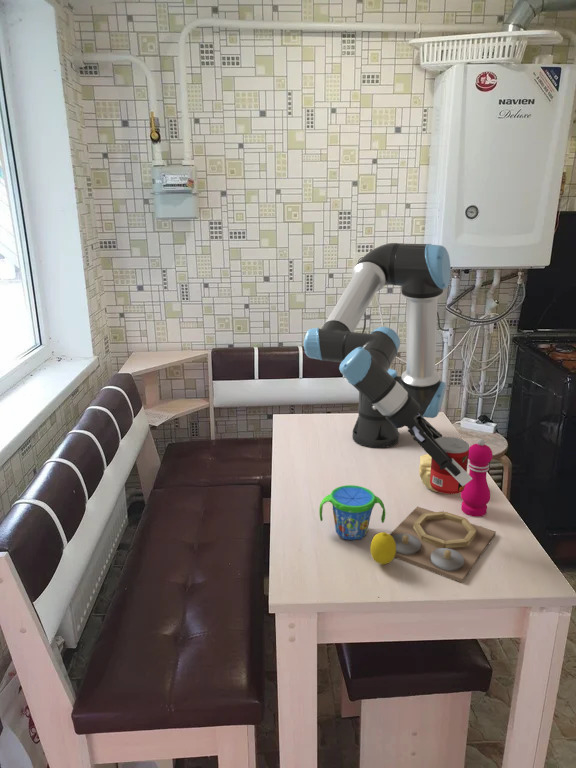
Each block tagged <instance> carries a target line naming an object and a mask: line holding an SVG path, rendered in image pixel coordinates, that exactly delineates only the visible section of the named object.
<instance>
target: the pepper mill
mask: <svg viewBox="0 0 576 768" xmlns="http://www.w3.org/2000/svg"><path fill="white" fill-rule="evenodd" d="M485 443H486V441H485V440H484V439H483V438H479V439H477V442H476V443H473V444H471V446H470V445H469V456H468V465H467V469H469V473H468V474H469V475H470V476H471V477H472V480H471V481H469V482H468V483H467V484H465V488H464V490H463V491H462V492H460V498H461V500H462V501H461V507H460V509H461V512H463V514H465V515H466V516H470V517H472V518H474V517H475V518H479V517H480V518H481V517H484V516H485V515H486V514H487V511H488V504H489V503H490V501H491V490H490V487H489V484H488V480H487V472H488V471H489V470H490V463H491V462H492V460H493V455H494V454H493V450H492V448H490V446H488V445H487V444H485Z"/></svg>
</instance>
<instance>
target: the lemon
mask: <svg viewBox="0 0 576 768" xmlns="http://www.w3.org/2000/svg"><path fill="white" fill-rule="evenodd" d="M390 534H391V533H388V532H385V531H382V532H378V533H376V534H375V535H374V536H373V538H372V540H371V543H370V548H369V549H370V556H371V557H372V559H373V560H374V561H375V562H376V563H378V564H380V565H382V566H383V565H387V564H389V563H391V562H392V561H393V560H394V559H395V554H396V544H395V541H394V538H393V537H392V536H391V535H390Z"/></svg>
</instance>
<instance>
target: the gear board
mask: <svg viewBox="0 0 576 768" xmlns="http://www.w3.org/2000/svg"><path fill="white" fill-rule="evenodd" d="M404 518H405V519H403V520H402V522H400V523H399V524H398V525H397V526H396V527H395V529H393V531H391V532H390V533H389V534H390V535H391V536H392V537H393V538H394V541H395V544H396V554H395V557H394V559H398V560H400V561H403V562H406V563H409V564H411V565H413V566H417V567H418V568H421V569H424V570H427V571H430V572H432V573H434V572H435V573H434V574H437V573H438V575H440V574H441V575H440V576H442V575H443V577H445V578H447V579H450V578H451V580H453V579H454V580H453V581H455V580H457V581H456V582H458V581H459V582H458V583H460V584H463V583H464V581H465V580H466V578H467V577H468V575H469V574H470V573H469V572H471V571H472V569H474V567H475V565H476V564H477V563H478V562H479V560H480V558H481V557H480V556H482V555H483V554H484V553H485V551H486V549H487V548H488V546H489V545H490V544H489V543H491V542H492V541H493V539H494V538H495V536H496V533H497V531H495V530H493V529H489V528H486V527H483V526H480V525H477V524H475V523H471V522H470V521H469V520H468V519H467V518H466V517H464V516H459V515H458V514H454V513H451V512H448V511H444V510H442V511H432V510H429V509H427V508H424V507H420V506H416V507H415V508H414V509H413V510H412V511H411V512H410V513H409V515H407V516H406V517H404ZM462 582H463V583H462Z"/></svg>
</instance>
